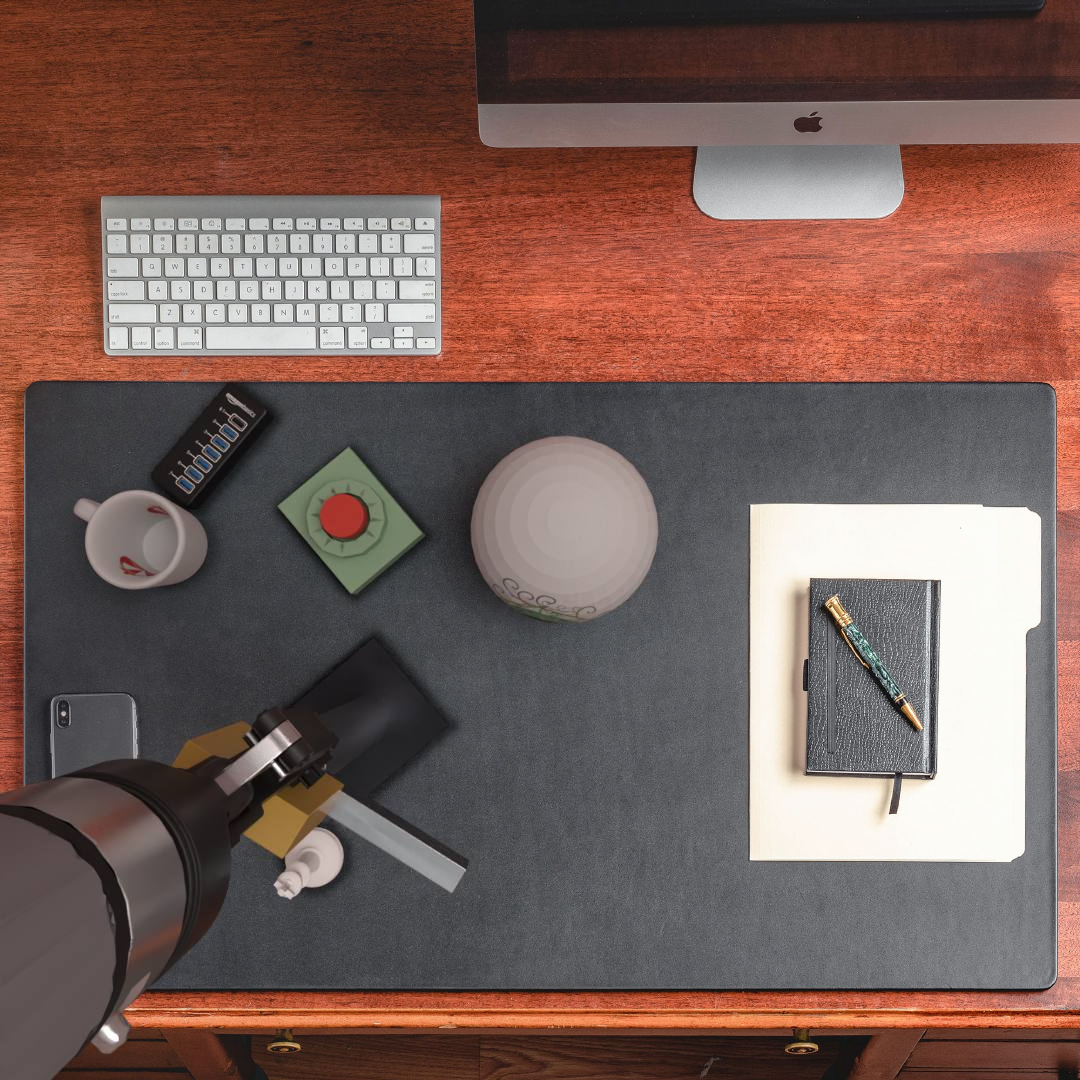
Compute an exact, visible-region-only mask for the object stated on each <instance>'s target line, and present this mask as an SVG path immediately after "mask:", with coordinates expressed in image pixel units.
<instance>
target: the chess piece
mask: <svg viewBox="0 0 1080 1080" xmlns="http://www.w3.org/2000/svg"><path fill="white" fill-rule="evenodd" d="M284 863H285V869H284V871H283V872H282V873H280V874H279V875H278V877H277V879H276V881H275V882H274V883H273V886H274V887H275V888H276V891H277V894H278V895H279V897H281V898H282V897H283V898H288V899H289V900H292V898H294V897H296V896H298V894H299V893H300V892H301V891H302V889H303V888H305V887H306V888H320V887H323V886H324V885H326V884H328V883H330V882H332V881H333V880H334V879H335V878H336V877H337V876H338V874H339V873H340V871H341V869H342V867H343V863H344V848H343V845H342V843H341V841H340V839H339V838H338V837H337V836H336V835H335V834H334V833H333V832H331V831H330V830H329V829H326V828H324V827H319V826H316V827H315V828H314V829H313V830H312V831H311V832H310V833H309V834H308V835H307V836H306V837H305V838H304V839H303V840H302V841H301V842H299V843H298V844H297V845H296V846H295V847H294V848H293V849H292V850H291V851H290V852H289V853H288V854H287V855H286V856H285V857H284Z"/></svg>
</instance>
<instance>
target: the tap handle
mask: <svg viewBox="0 0 1080 1080" xmlns="http://www.w3.org/2000/svg"><path fill="white" fill-rule="evenodd" d="M250 729H252V725H251V724H248V723H247V722H245V721H243V720H241V721H238V722H235V723H233V724H230V725H227V726H224V727H221V728H218V729H216V730H213V731H209V732H207V733H205V734H204V733H203V734H202V735H198V736H196V737H192V738H190V739H188V740H187V741H186V742H185V744H184V746H183V747H182V749H181V750H180V752H179V753H178V755H177V756H176V758H175V760H174V761H173V763H172V764H171V766H172V767H175V768H183V769H188V768H190V767H192V766H194V765H196V764H197V763H199V762H201V761H203V760H205V759H206V758H208V757H210V756H212V755H216V756H219V757H220V758H228V759H230V758H231V757H233V756H235V755H236V754H238V753H240V752H242V751H243V750H245V749H247V748H249V746H248V745H247V743H246V742H245V741H244V740H243V739H242V736H243V735H244V734H245V733H246V732H248V731H249V730H250ZM321 769H322V770H323V771H324V772H325V775H324V776H323V777H322V778H321V779H320V780H318V781H317V782H316V783H315V784H314V785H313V786H311V787H310V788H309V789H307V788H306V787H305V786H304V785H303V783H302V782H300V783H299V784H297V785H296V786H294V787H293V788H292V787H291V786H290V785H288V786H287V787H286V788H284V789H283V790H282V791H280V792H279V793H278V794H276V795H275V796H274V797H272V798H271V799H270V800H268V801H267V802H266V803H264V804H263V805H262V807H263V810H264V815H263V816H262V817H261V818H260V819H259V820H258V821H257V822H256V823H255V824H253V825H252V826H251V827H250V828H249V829H248V830H247V831H246V832H245V833H243V834H242V835H243V836H245V837H246V838H248V839H250V840H252V841H253V842H254V843H256V844H258V845H259V846H261V847H263V848H264V849H265V850H267V851H268V852H270V853H272V854H273V855H275V856H276V857H277V858H279V859H281V860H282V859H285V856H286V855H287V854H288V853H289V852H290V851H291V850H292V849H293V848H294V847H295V846H296V845H297V844H298V843H299V842H301V841H302V840H303V839H304V838H305V837H306V836H307V835H308V834H309V833H310V832H311V831H312V830H313V829H314V828H315V827H318V826H319V825H320V824H321V823H322V822H323V821H324V819H325V818H326V816H328V817H329V818H331V819H332V820H334V821H335V822H337V823H339V824H340V825H341V826H343V827H345V828H347V829H348V830H350V831H351V832H353V833H355V834H356V835H358V836H359V837H361V838H362V839H364V840H366V841H367V842H369V843H370V844H372V845H373V846H375V847H377V848H378V849H380V850H382V852H385V853H387V854H388V855H390V856H391V857H393V858H394V859H396V860H397V861H399V862H400V863H402V864H404V865H406V866H407V867H408V868H410V869H412V870H413V871H415V872H416V873H418V874H420V875H422V876H423V877H425V878H426V879H427V880H429V881H431V882H432V883H434V884H435V885H437V886H439V887H440V888H442V889H443V890H445V891H446V892H449V893H450V894H454V892H455V891H456V889H457V887H458V886H459V884H460V882H461V880H462V879H463V877H464V876H465V874H466V872H467V871H468V866H469V864H470V859H468V858H466V857H465V856H464V855H462V854H460V853H459V852H457V851H455V850H454V849H453V848H451V847H450V846H448V845H446V844H444V843H443V842H441V841H440V840H438V839H436V838H435V837H434V836H432V835H430V834H429V833H427V832H425V831H424V830H422V829H421V828H419V827H417V826H416V825H414V824H412V823H411V822H409V821H408V820H406V819H404V818H403V817H401V816H400V815H398V814H397V813H395V812H393V811H392V810H390V809H389V808H387V807H385V806H384V805H382V804H381V803H379V802H377V801H376V800H374V799H372V798H371V797H369V795H368V796H366V795H364V794H363V793H361V792H360V791H358V790H357V789H355V788H353V787H352V786H350V785H349V784H347V783H345V782H344V781H342V780H341V779H339V778H337V777H336V776H334V775H333V774H331V773H329V772H328V771H326V770H325V769H323V768H321ZM229 826H230V825H229Z"/></svg>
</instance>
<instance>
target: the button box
mask: <svg viewBox="0 0 1080 1080" xmlns="http://www.w3.org/2000/svg"><path fill="white" fill-rule="evenodd" d="M338 494H346V495H350V496H352V497H354V498H355V499H357V500H358V501H360V502H361V503H362V504H363V506H364V507H365V509H366V512H367V523H366V526H365V528H364V530H363V531H362V532H361V533H360V534H359V535H358V536H356V537H354V538H350V539H341V538H338V537H335V536H333V535H331V534H329V533H328V532H327V531H326V530H325V529H324V528H323V526H322V524H321V520H320V512H321V508H322V506H323V504H324V503H325V502H326V501H327V500H328V499H329V498H330V497H332V496H335V495H338ZM277 508H278V509H279V510H280V511H281V513H282V514H283V515H284V516H285V517H286V518H287V520H288V521H289V522H290V523H291V524H292V525H293V527H294V528H295V529H296V530H297V531H298V533H299V534H300V535H301V536H302V537H303V539H304V540H305V542H307V544H308V545H309V546H310V547H311V548H312V549H313V551H314V552H315V553H316V554H317V555H318V556H319V558H320V559H321V560H322V562H323V563H324V564H325V565H326V566H327V567H328V569H329V570H330V571H331V572H332V573H333V575H335V577H336V578H337V579H338V580H339V581H340V583H341V584H342V585H343V586H344V588H345V589H346V590H347V591H348V592H349V594H350V595H358V594H359V593H360V592H361V591H362V590H364V589H365V588H366V587H367V586H368V585H370V583H372V582H373V581H375V580H376V579H377V577H379V576H380V575H381V574H382V573H383V572H385V571H386V570H387V569H388V568H389V567H391V566H392V565H393V564H394V563H395V562H397V561H398V560H399V559H401V557H402V556H404V555H405V554H406V553H407V552H408V551H410V550H411V549H412V548H413V547H414V546H415V545H417V544H418V543H419V542H420V541H421V540H423V539H424V538H425V537H426V533H424V532H423V530H422V529H421V528H420V527H419V526H418V525H417V524H416V522H415V521H414V520H413V519H412V518H411V516H410V515H409V514H408V513H407V512H406V511H405V510H404V508H403V507H402V506H401V505H400V503H398V502H397V500H396V499H395V498H394V497H393V495H392V494H391V493H390V492H389V491H388V490H387V488H385V486H384V485H383V484H382V483H381V481H380V480H379V479H378V478H377V477H376V476H375V474H374V473H373V472H372V471H371V469H370V468H369V467H368V466H367V465H366V464H365V462H364V461H363V460H362V459H361V457H360V456H358V454H357V453H356V452H355V451H354V450H353V449H352V448H351V447H350V446H347V448H345V449H344V450H343V451H342V452H340V454H338V455H337V456H335V457H334V458H333V459H332V460H331V461H330V462H328V463H327V464H326V465H325V466H324V467H322V468H321V469H319V471H318V472H316V473H315V474H314V475H313V476H312V477H310V478H309V479H308V480H306V481H305V483H303V484H302V485H301V486H300V487H298V488H297V489H296V490H295V491H294V492H292V493H291V494H290V495H289V496H288V497H286V498H285V499H284V500H282V501H281V502H280V503H279V504H278V505H277Z"/></svg>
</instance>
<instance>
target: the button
mask: <svg viewBox="0 0 1080 1080" xmlns="http://www.w3.org/2000/svg"><path fill="white" fill-rule="evenodd" d="M320 520H321V524H322V526H323V528H324V529H325V530H326V531H327V532H328V533H329V534H331V535H333V536H335V537H338V538H341V539H350V538H354V537H356V536H358V535H359V534H360V533H361V532H362V531H363V530H364V528H365V526H366V523H367V512H366V509H365V507H364V506H363V504H362V503H361V502H360V501H358V500H357V499H355V498H354V497H352V496H350V495H346V494H338V495H335V496H332V497H330V498H329V499H328V500H327V501H326V502H325V503H324V504H323V506H322V508H321V512H320Z"/></svg>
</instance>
